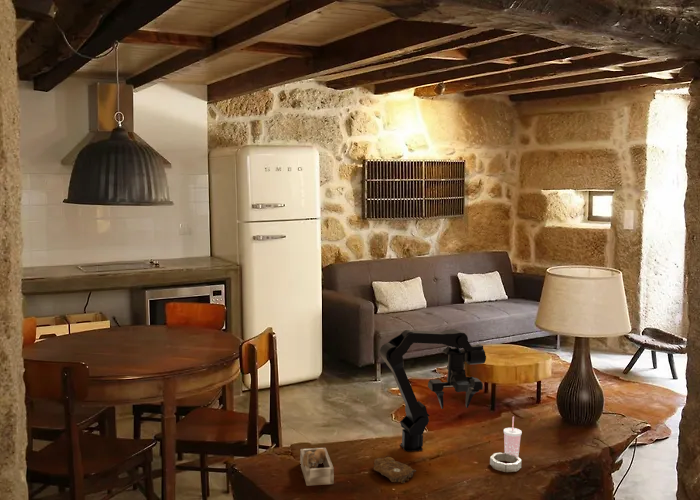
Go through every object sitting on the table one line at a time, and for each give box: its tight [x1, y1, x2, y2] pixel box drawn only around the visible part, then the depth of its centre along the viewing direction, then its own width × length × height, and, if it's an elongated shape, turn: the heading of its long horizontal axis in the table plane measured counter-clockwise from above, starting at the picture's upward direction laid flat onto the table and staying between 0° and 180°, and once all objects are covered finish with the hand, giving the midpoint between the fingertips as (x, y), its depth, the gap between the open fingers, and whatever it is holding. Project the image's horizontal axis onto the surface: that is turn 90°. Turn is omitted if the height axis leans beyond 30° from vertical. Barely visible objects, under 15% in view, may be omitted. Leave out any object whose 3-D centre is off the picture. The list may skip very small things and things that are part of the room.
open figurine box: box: [299, 447, 335, 487], centre depth 226 cm, size 8×16×5 cm, turn 11°
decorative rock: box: [373, 456, 417, 484], centre depth 227 cm, size 11×4×15 cm
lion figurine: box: [303, 449, 326, 469], centre depth 226 cm, size 15×5×9 cm, turn 161°
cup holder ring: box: [489, 452, 523, 473], centre depth 235 cm, size 10×10×2 cm
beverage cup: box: [503, 416, 523, 457], centre depth 243 cm, size 6×6×14 cm
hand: (454, 408), depth 252 cm, fingers open, 9 cm apart
